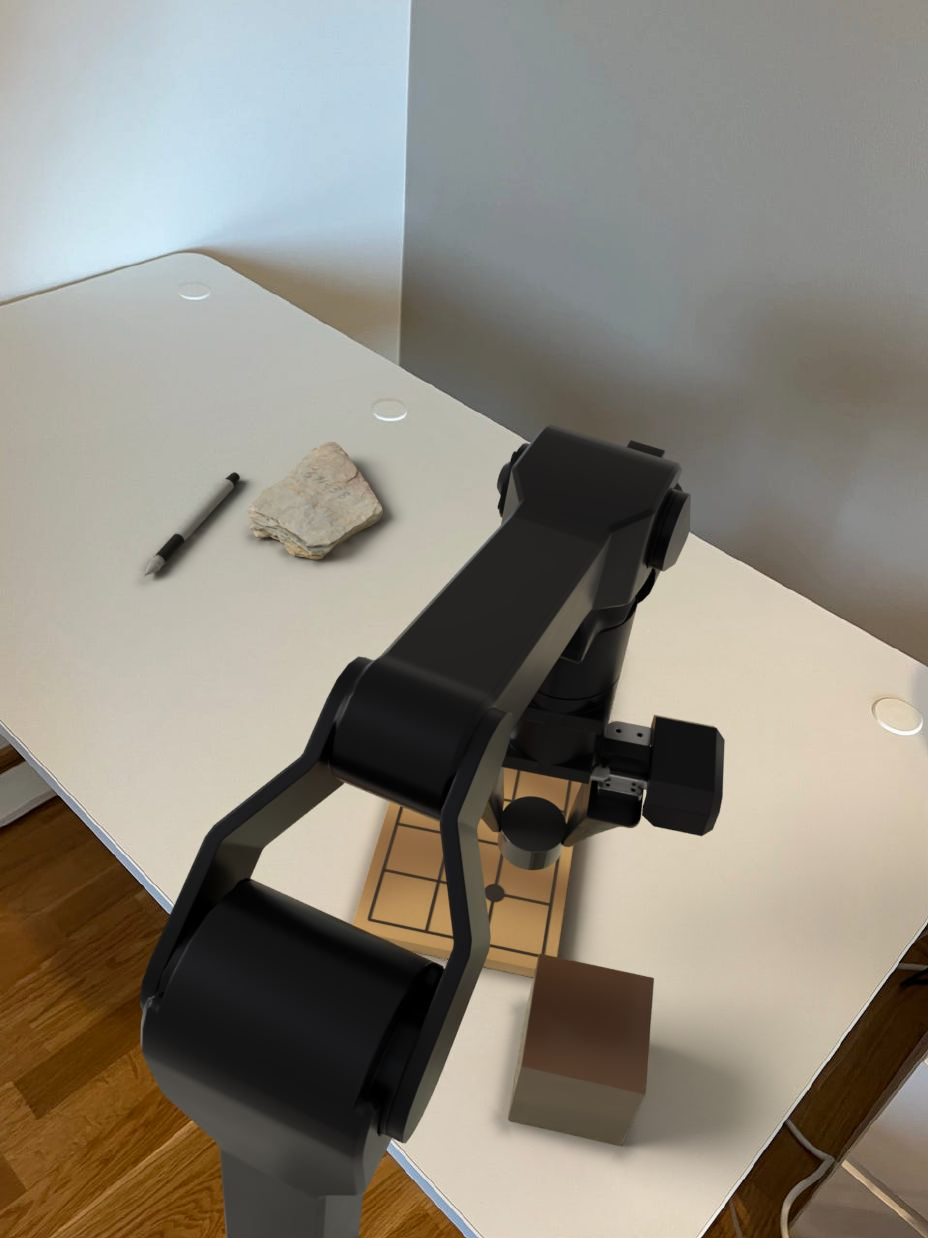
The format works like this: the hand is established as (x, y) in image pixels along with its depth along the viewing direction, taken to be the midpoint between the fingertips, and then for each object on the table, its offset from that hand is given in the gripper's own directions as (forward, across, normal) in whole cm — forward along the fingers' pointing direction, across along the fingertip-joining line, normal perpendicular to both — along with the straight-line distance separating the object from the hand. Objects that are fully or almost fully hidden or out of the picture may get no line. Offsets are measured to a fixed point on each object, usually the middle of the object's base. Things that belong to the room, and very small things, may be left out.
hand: (532, 833), depth 64 cm
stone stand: (+13, -5, +8) cm, 16 cm away
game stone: (+1, 0, 0) cm, 1 cm away
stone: (+13, +27, -40) cm, 50 cm away
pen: (+13, +37, -35) cm, 53 cm away
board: (+13, +4, -14) cm, 19 cm away
